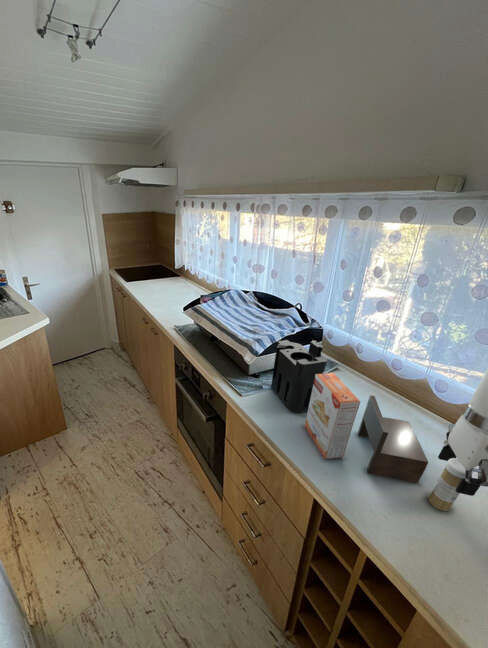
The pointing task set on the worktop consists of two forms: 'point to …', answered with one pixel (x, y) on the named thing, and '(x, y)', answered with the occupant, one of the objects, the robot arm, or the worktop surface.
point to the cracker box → (331, 415)
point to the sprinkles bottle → (447, 485)
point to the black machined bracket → (296, 373)
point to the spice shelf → (392, 446)
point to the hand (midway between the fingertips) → (454, 475)
